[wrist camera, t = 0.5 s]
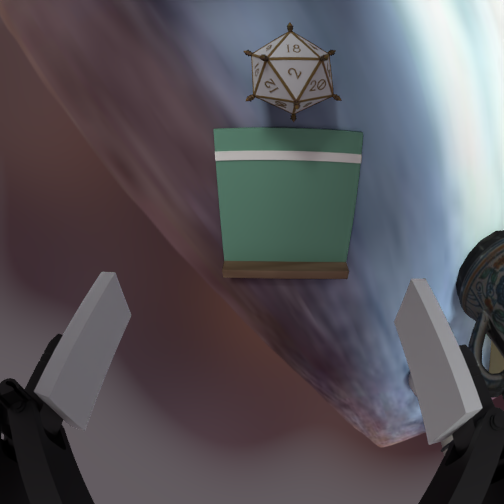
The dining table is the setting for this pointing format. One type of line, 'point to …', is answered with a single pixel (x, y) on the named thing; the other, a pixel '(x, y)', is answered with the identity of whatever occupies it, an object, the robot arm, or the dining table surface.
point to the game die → (291, 73)
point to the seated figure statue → (495, 360)
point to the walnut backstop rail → (285, 270)
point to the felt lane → (287, 192)
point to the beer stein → (485, 301)
